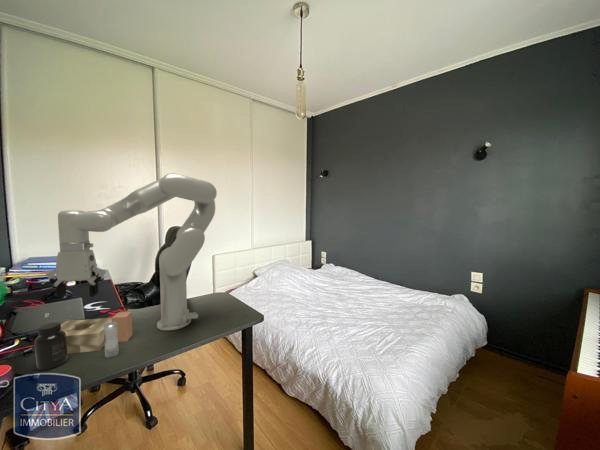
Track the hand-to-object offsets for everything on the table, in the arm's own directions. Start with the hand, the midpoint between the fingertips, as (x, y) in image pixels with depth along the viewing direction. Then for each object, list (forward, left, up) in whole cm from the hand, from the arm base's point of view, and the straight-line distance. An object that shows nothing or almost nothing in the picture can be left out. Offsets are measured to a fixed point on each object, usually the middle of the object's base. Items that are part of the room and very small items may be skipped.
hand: (78, 296), depth 87 cm
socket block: (-1, +1, -17) cm, 17 cm away
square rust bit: (-13, 0, -17) cm, 21 cm away
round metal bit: (-14, +10, -17) cm, 24 cm away
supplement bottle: (+1, +12, -17) cm, 21 cm away
